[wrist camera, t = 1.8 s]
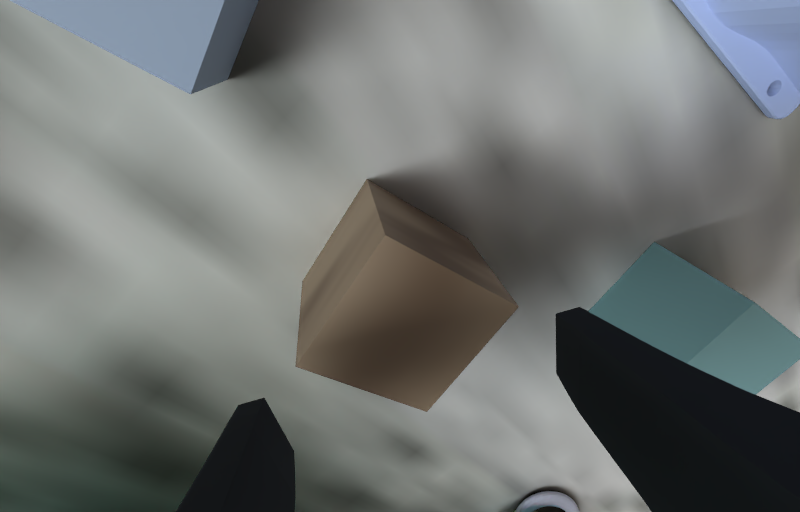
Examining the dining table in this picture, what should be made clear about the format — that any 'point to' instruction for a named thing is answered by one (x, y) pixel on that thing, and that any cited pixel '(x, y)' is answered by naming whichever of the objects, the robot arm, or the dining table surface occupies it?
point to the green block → (698, 321)
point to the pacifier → (547, 502)
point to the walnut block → (397, 302)
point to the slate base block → (159, 33)
